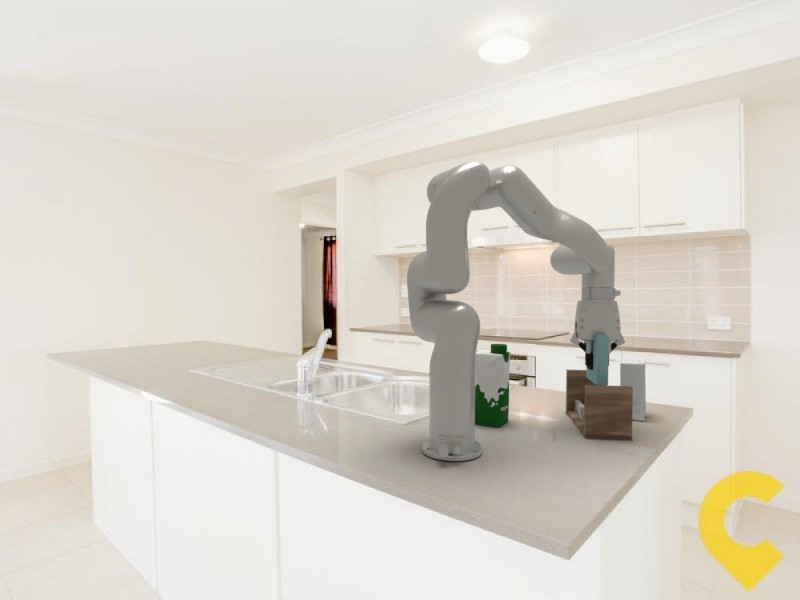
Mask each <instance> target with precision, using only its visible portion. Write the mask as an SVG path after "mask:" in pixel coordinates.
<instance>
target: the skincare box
mask: <svg viewBox="0 0 800 600" xmlns="http://www.w3.org/2000/svg"><path fill="white" fill-rule="evenodd" d="M619 365H620V366H619V367H620V368H619V369H620V370H619V371H620V379H619V380H620V385H619V386H631V387H633V408H632V421H637V422H645V421H646V418H645V417H646V416H647V415H646V414H647V406H646V404H647V399H646V398H647V397H646V396H647V395H646V391H647V390H646V385H647V384H646V360H634V359H633V360H632V359H631V360H630V359H623V360H621V361H620V364H619Z"/></svg>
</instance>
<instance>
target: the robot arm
mask: <svg viewBox="0 0 800 600" xmlns="http://www.w3.org/2000/svg"><path fill="white" fill-rule="evenodd" d="M426 196H427V199H428V201H429V204H430V205H429V208H428V210H427V213H426V214H427V215H426V221H425V247H426V248H425V249H426V251H422V252H420V253H419V252H418V254H416V255H415V256H414V257H412V258H413V259H411V261H410V263H409V265H408V268H407V271H406V272H407V274H406V286H407V296H408V297H407V298H408V311H409V320H410V324H411V328H412V330H413V333H414V334H415V335H416V336H417V337H418V338H419V339H421V340H422V341H425V342H428V343H432V344H434V346H433V350H432V353H431V357H430V360H429V369H428V370H429V373H428V374H429V376H428V377H429V387H428V388H429V395H428V396H429V408H428V409H429V411H428V412H429V413H428V414H429V415H428V416H429V417H428V419H429V420H428V421H429V422H428V423H429V424H428V425H429V427H428V429H429V430H428V431H429V433H428V434H429V436H428V439H426V440H425V441H423V442H422V443H421V451H422V454H424V455H425V456H427V457H429V458H431V459H435V460H439V461H446V462H465V461H470V460H474V459H477V458H478V457H480V456H481V455H482V453H483V446H482V445H481V443H479V442H478V441H476V424H475V360H476V352H477V351H478V350H477V348H478V343H479V339H480V333H481V332H480V331H481V320H480V317H479V315H478V312H477V311H476V310H475V308H474V307H472V306H471V305H470V304H468V303H466V302H463V301H461V300H460V301H459V300H449V299H448V300H447V295H455V294H458V293H460V292H463V291H464V290H465V289H466V288H467V286H468V285H469V283H470V276H471V274H470V273H471V271H470V269H471V268H470V256H469V244H468V243H469V242H468V223H469V219H470V215H471V213H472V211H473V212H474V211H484V210H491V209H494V208H500V209H502V211H504V212H505V213H506V214H507V215H508V216H509V217H510V218H511V219H512V220H513V221H514V223H515V224H516V225H518V227H519V228H520V229H521V231H523V232H524V233H526V235H529V236H531V237H534V238H538V239H542V240H546V241H551V242H555V243H558V244H560V245H559V246H557V247H556V248H555V249H553V251H552V252H551V255H550V261H549V262H550V264H551V267H552V268H553V270H554V271H556V272H557V273H559V274H561V275H566V276H569V275H570V276H574V275H581V300H577V303H576V309H575V317H574V328H573V330H574V332H573V334H572V336H571V338H570V339H569V341H570V343H572V344H574V345H576V346H578V347H579V348H580V349H581V350H582V351H583V352H584V354H585V355H584V358H585V359H584V364H585V366H587V368H588V369H590V370H592V369H593V354H592V351H591V347H592V341H594V334H606V335H609V352H608V367H610V354H611V353H612V352H613V351H614V350H615V349H616V348H617V347H619V346H622V345H624V344H625V343H626V340H625V339H624V337H623V334H622V332H621V318H620V311H619V310H620V309H619V305H618V301H617V300H615V299H616V298H617V297H619V296H621V295H622V293H621V290H617V289H616V287H615V272H616V271H615V269H616V267H615V266H616V265H615V263H616V260H615V259H616V251H615V247H613V246H612V245H610V244H607V242H606V241H605V240H604V238H603V237H602V235H600V234H599V233H598V231H597V230H596V229H595V228H594V227H593V226H591V224H589V223H588V222H586V221H584V220H582V219H581V218H578V217H577V216H575V215H573V214H570V213H569V212H566V211H565V210H562V209H561V208H560V209H559V208H558V207H556V206H554V205H553V203H551V202H550V200H549V199H548V198H547V197H546V195H545V194H544V193H543V192H542V191H541V190H540V189H539V188H538V186H537V185H536V184H535V183H534V182H533V181H532V180H531V179H530V178H529V176H528V175H527V174H526V173H525V172H524V171H523V170H522V169H521V168H519V167H518V166H516V165H511V164H507V165H503V166H502V165H501V166H500V167H496V168H493V169H490V170H489V168H488V166H487V165H486V164H484V163H483V162H480V161H468V162H467V161H466V162H464V163H461V164H459V165H456V166H454V167H452V168H450V169H447V170H444V171H442V172H440V173H438V174H436V175H434V176H433V177H432V178H431V179H430V181H429V183H428V184H427V187H426ZM582 341H583V342H582Z"/></svg>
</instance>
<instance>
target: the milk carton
mask: <svg viewBox="0 0 800 600" xmlns="http://www.w3.org/2000/svg"><path fill="white" fill-rule="evenodd" d="M510 363H511V351H508V345H507V344H504V343H491V344H490V350H489V349H481V350H480V349H479V350H476V360H475V425H480V426H486V427H487V426H488V427H490V428H491V427H493V428H498V429H499V428H501V427H502V426H503V425H505V424H506V423H507V422H508V421H509V411H510V410H509V409H510Z"/></svg>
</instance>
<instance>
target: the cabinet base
mask: <svg viewBox="0 0 800 600" xmlns="http://www.w3.org/2000/svg"><path fill="white" fill-rule="evenodd" d="M565 375H566V376H565V377H566V378H565V380H566V382H565V384H566V385H565V414H566V415H567V417H568V418H569V417H570V418H569V419H570V420H571V422H572V421H573V424H574V425H575V427H576V426H577V427H576V428H577V430H578V431H579V430H580V431H579V432H580V433H581V434H582V436H583V437H584V438H585V439H587V438H588V439H589V440H609V441H610V440H613V441H614V440H615V441H631V440H632V441H633V420H632V408H633V387H631V386H620V385H596V384H595V383H593V382H592V381H591V380H589V379H588V378H587V377H586V369H566V374H565ZM588 439H587V440H588Z"/></svg>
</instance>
